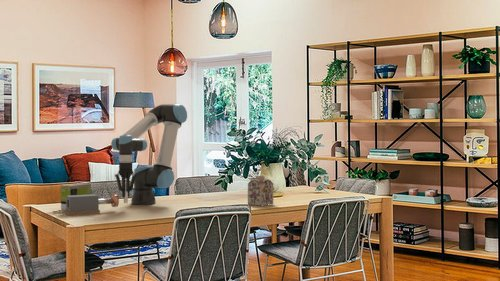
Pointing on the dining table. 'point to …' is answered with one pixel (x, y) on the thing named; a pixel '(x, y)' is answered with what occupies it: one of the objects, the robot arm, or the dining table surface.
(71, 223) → the dining table surface
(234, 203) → the dining table surface
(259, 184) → the decorative jar
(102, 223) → the dining table surface
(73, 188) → the tea box
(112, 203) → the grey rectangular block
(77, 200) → the block
